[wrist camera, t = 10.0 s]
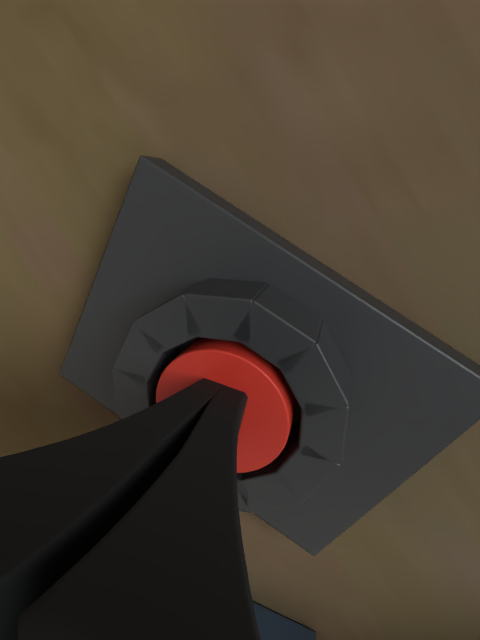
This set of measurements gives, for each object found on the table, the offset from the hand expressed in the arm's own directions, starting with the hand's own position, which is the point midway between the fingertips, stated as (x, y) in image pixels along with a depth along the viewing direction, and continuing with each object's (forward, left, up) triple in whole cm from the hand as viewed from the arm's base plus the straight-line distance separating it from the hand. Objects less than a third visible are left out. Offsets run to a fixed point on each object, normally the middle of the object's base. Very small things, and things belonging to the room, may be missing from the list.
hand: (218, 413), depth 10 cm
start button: (0, 0, -2) cm, 2 cm away
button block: (0, 0, -3) cm, 3 cm away
